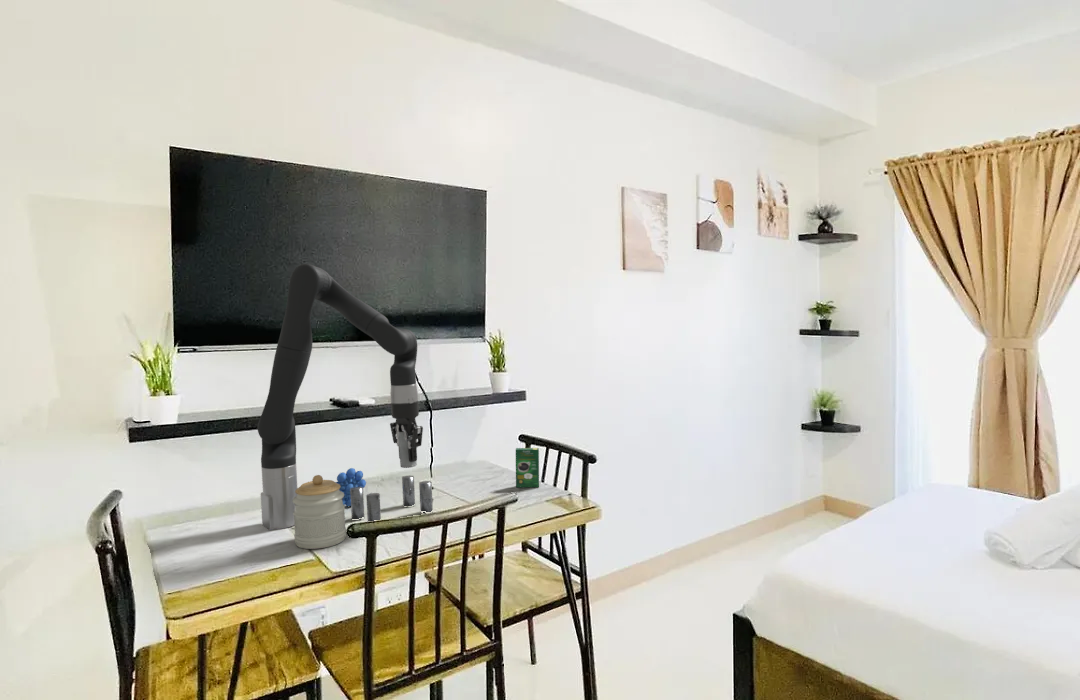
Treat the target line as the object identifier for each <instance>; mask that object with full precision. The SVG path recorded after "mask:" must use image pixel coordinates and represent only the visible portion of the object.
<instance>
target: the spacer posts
mask: <svg viewBox="0 0 1080 700" xmlns="http://www.w3.org/2000/svg"><path fill="white" fill-rule="evenodd" d="M401 482H402V483H401V484H402V506H403V505H404V506H412V505H414V504H415V505H416V497H415V496H416V494H415V493H416V492H415V476H414V475H411V474H410V475H404V476H402V477H401ZM418 484H419V485H418V486H419V487H418V488H419V502H420V503H419V506H420V507H419V508H420V509H419V510H421V511H426V512H431V511H432V510H433V509H434V508H433V490H432V489H433V487H432V481H429V480H423V481H420V482H419V483H418ZM350 495H351V507H350V508H351V509H350V510H351V520H352V519H359V518H362V517H364V518H365V502H364V501H365V499H364V488H363V487H353V488H351V489H350ZM365 496H366V513H367V516H366V517H367V522H368V521H374V520H380V519H381V520H382V517H381V515H382V514H381V495H380V493H378V492H371V493H368V494H366V495H365ZM423 513H425V512H423Z"/></svg>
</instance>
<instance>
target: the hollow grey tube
mask: <svg viewBox="0 0 1080 700" xmlns="http://www.w3.org/2000/svg"><path fill="white" fill-rule="evenodd" d="M398 435H399V447H398V452H399V451H400V459H399V464H400V468H401V469H402V468H403V469H409V468H415V467H416V466H417V465H418V464H417V461H414V462H410V461H409V453H408V449H409V448H408V443H407V441H405V438H404V432H400V431H398ZM408 437H412V435H410V436H408ZM411 444H412V440H411Z"/></svg>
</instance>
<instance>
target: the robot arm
mask: <svg viewBox="0 0 1080 700" xmlns="http://www.w3.org/2000/svg"><path fill="white" fill-rule="evenodd" d="M315 300H317V301H320V302H322V303H324V304H326V305H328V306H330V307H331V308H333V309H334V310H336V311H338V313H340V314H341V315H342V316H343V317H344V318H345V319H346V320H347V321H348V322H349V323H351V324H352V325H353V326H355V328H357V329H358V330H360V331H361V332H363V333H364V334H365V335H367V336H369V337H370V338H372V339H373V340H374V341H375V342H376V343H377V344H378V346H380V347H381V348H382V349H383V350H384V351H386V352H387V353H389V354H391V355H394V359H393V360H394V361H393V364H392V365H391V366H390V370H389V376H390V377H389V379H390V393H389V394H390V409H391V417H392V418H393V419H395V421H394V422H390V424H389V425H390V431H391V436H392V441H393V443H394V444H396V446H397V447H398V448H399V435H398V431H400V432H404V438H405V441H407V443H408V448H409V449H408V453H409V461H410V462H414V461H417V460H418V453H417V450H418V449H417V448H418V447H421V446H422V443H423V434H424V433H423V432H424V428H423V426H422V425H417V420H416V418H417V417H418V416H419V415H420V413H419V412H420V411H419V410H420V409H419V395H418V394H419V393H418V387H417V375H416V364H417V357H418V340H417V337H416V335H415V333H414V332H413V331H412V330H410V329H406V328H404V329H399V328H397V327H395V326H393V325H392V324H391V323H390V321H389V319H388V318H387V317H386V316H385V315H384V314H382V313H381V312H379V311H378V310H377V309H375V308H373V307H372V306H370V305H368V304H367V303H366V302H365V301H362V300H361V299H359V298H358V297H356V296H354V295H353V294H352V293H350V292H349V291H347V289H345V288H344V287H343V286H341V284H339V283H338V282H337V281H336V280H335V279H334V278H333V277H332V276H331V274H329V273H328V272H327V271H326V270H325V269H324V268H321V267H318V266H315V265H313V264H310V263H303V264H302V263H301V264H299V265H298V266H296V267H295V268H294V269H293V271H292V273H291V275H290V278H289V283H288V290H287V300H286V306H285V307H286V308H285V311H284V312H285V313H284V316H283V320H282V324H281V325H282V326H281V330H280V334H279V338H278V341H277V346H276V349H275V354H274V359H273V363H272V369H271V375H270V382H269V389H268V393H267V394H268V395H267V397H266V401H265V404H264V407H263V410H262V412H261V414H260V417H259V420H258V423H257V433H258V436H259V437H260V438H261V454H260V455H261V457H260V464H261V465H260V466H261V479H262V480H261V481H262V483H261V484H262V492H260V507H261V509H260V510H261V523H262V526H263V528H264V527H265V528H266V529H268V530H269V531H271V530H280V529H286V528H289V527H293V526H294V515H293V512H294V510H295V504H294V503H293V502H292V500H293V498H294V497H296V496H297V494H296V492H295V490H296V489H297V488H298V476H297V475H298V474H297V473H298V472H297V471H298V470H297V437H296V435H297V434H296V423H295V422H296V421H295V418H294V411H295V405H296V400H297V395H298V394H299V390H300V389H301V385H302V383H303V381H304V378H305V376H306V372H307V370H308V366H309V362H310V358H311V355H312V350H313V333H312V326H311V325H312V323H311V317H312V312H313V311H312V310H313V307H314V303H315ZM410 435H412V437H408V436H410ZM411 440H412V444H411ZM398 458H399V460H400V451H399V450H398ZM294 527H295V526H294Z"/></svg>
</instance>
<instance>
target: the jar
mask: <svg viewBox="0 0 1080 700" xmlns="http://www.w3.org/2000/svg"><path fill="white" fill-rule="evenodd" d="M335 482H336V481H334V480H332V479H324V478H323V476H322V475H320V474H316V475H313V477H312V480H311V481H307V482H304V483H302V484H301V485H300V486H298V487H297V489H296V490H295V492H296V494H297V496H296V497H294V498H293V500H292V502H293V503H294V504H295V510H294V512H293V515H294V542H295V545H296V547H298V548H300V549H307V550H317V549H318V550H319V549H324V548H328V547H333V546H335V545H338V544H341V543H342V542H343V541H344V540H345V539H346V535H347V528H346V527H347V526H346V517H345V513H346V512H345V508H346V505H345V506H344V504H343V501H342V498H343V497H344V493H343V492H342V491H340V490H339V489H340V487H341V486H340V484H338V483H335Z"/></svg>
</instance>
